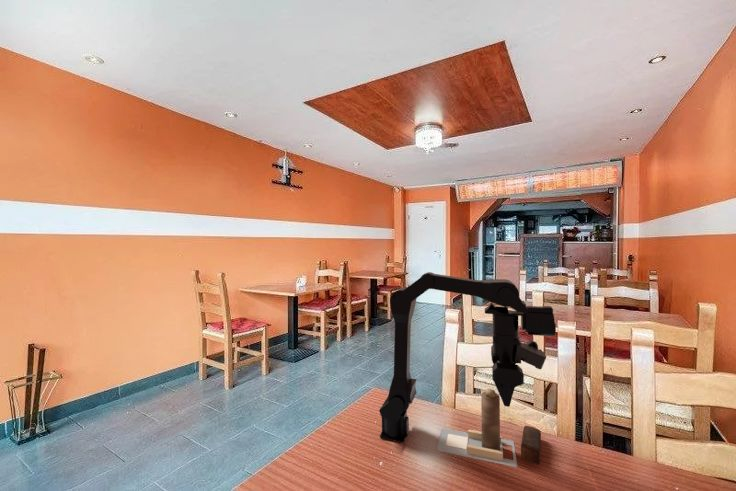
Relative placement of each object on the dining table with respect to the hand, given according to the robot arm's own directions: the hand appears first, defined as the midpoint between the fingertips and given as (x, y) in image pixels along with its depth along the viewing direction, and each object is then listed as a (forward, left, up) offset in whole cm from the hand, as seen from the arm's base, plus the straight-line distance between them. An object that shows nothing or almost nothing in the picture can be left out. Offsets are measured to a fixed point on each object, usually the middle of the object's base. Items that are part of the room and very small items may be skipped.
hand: (505, 396), depth 77 cm
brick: (+6, +3, -15) cm, 16 cm away
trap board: (-7, 0, -14) cm, 16 cm away
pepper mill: (-3, 0, -13) cm, 14 cm away
